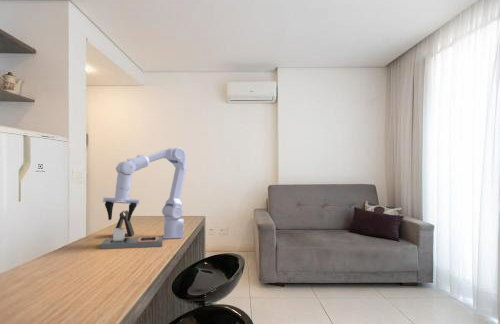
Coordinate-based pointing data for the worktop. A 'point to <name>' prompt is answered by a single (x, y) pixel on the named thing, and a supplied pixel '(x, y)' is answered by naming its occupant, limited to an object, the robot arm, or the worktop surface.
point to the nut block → (119, 235)
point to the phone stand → (127, 224)
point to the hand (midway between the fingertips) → (119, 220)
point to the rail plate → (133, 242)
